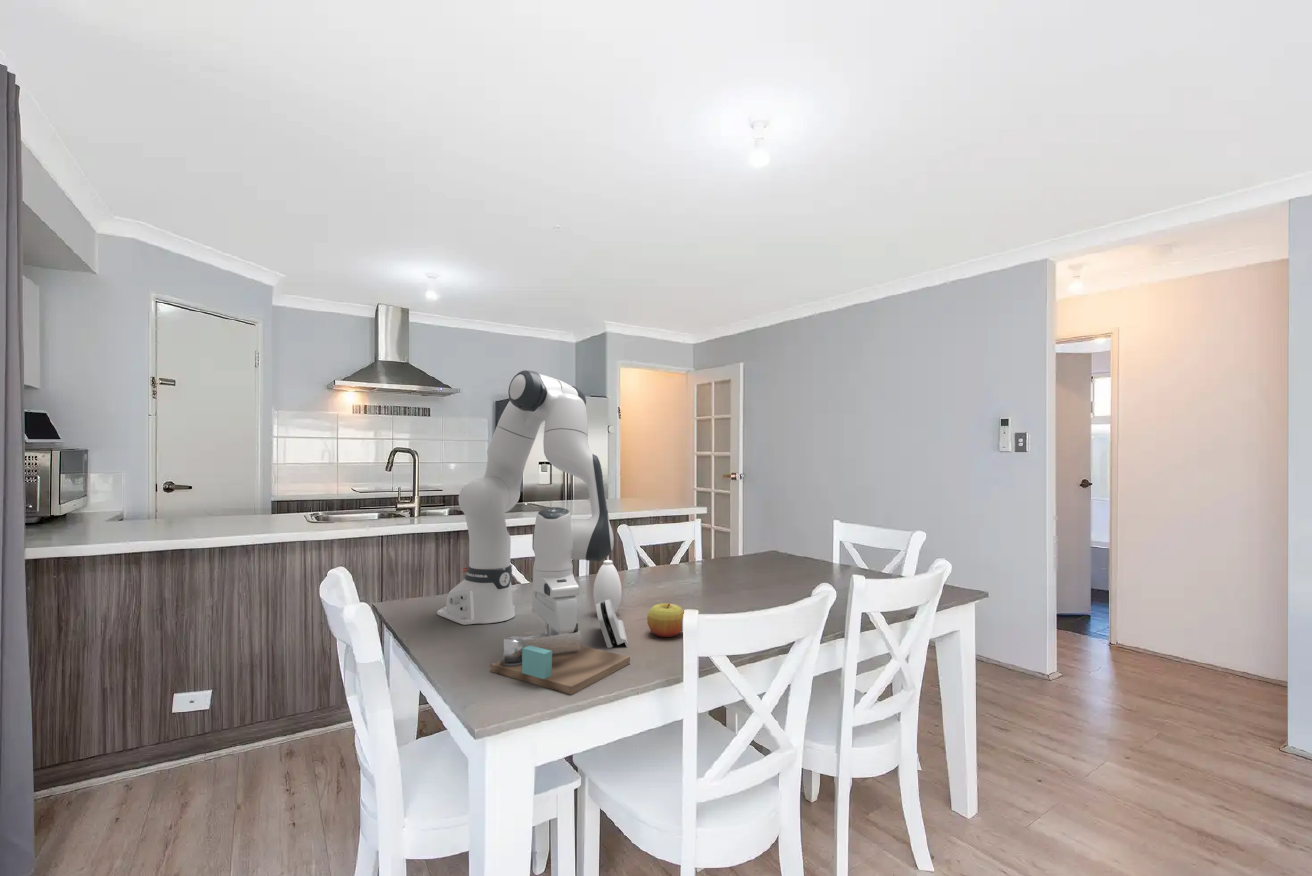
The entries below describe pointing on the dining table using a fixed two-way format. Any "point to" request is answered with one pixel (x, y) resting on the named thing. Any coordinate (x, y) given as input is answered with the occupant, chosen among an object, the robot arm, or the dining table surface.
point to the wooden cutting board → (569, 669)
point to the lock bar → (541, 643)
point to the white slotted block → (610, 624)
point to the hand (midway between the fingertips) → (552, 642)
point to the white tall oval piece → (607, 585)
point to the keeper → (537, 662)
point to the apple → (665, 619)
